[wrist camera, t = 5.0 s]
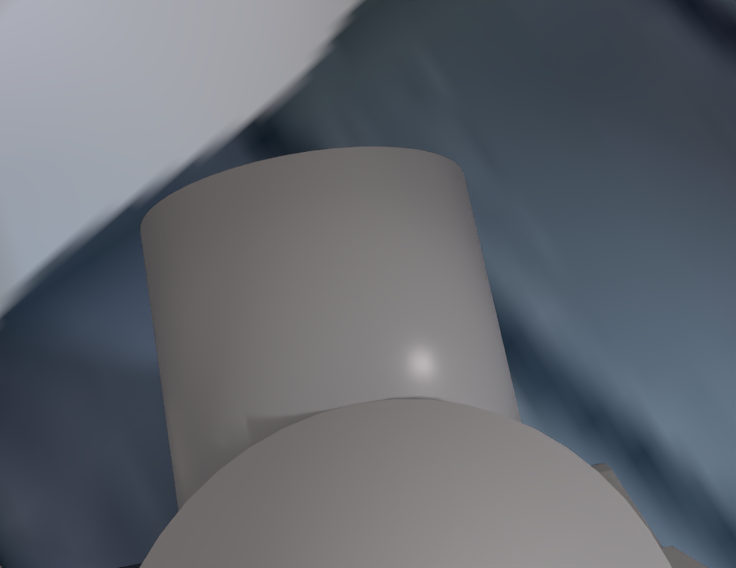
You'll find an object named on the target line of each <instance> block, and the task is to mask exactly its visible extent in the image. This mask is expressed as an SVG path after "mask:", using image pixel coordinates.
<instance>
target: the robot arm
mask: <svg viewBox="0 0 736 568" xmlns="http://www.w3.org/2000/svg"><path fill="white" fill-rule="evenodd" d="M591 467H593V468H594V469H595V470H596V471H598V472H599V473H600V474H601V475H602V476H603V477H604V478H605V479H606V480H607V481H608V482H609V483H610V484H611V485H612V486H613V487H614V488H615V489H616V490H617V491H618V492H619V493H620V494H621V495H622V496H623V497H624V498H625V499H626V501H627V502H628V503H629V505H630V506H631V507H632V508H633V510H634V511H635V512H636V513H637V515H638V516H639V517H640V519H641V520H642V521H643V522H644V524H645V525H646V526H647V528H648V529H649V530H650V532H651V533H652V535H653V537H654V538H655V540H656V542H657V543H658V545H659V547H660V548H661V550H662V552H663V553H664V555H665V557H666V558H667V560H668V562H669V563H670V565H671V567H672V568H708V567H706V566H704V565H703V564H701V563H699V562H698V561H696V560H695V559H693V558H691V557H690V556H688V555H686V554H685V553H683V552H681V551H680V550H678V549H676V548H675V547H673V546H669V547H664V548H663V547H662V545H661V544H660V542H659V540H658V539H657V537H656V536H655V534H654V533H653V531H652V530H651V528H650V527H649V525H648V524H647V522H646V521H645V519H644V518H643V516H642V515H641V513H640V512H639V510H638V509H637V507H636V506H635V504H634V503H633V501H632V499H631V498H630V496H629V495H628V493H627V492H626V490H625V489H624V487H623V486H622V484H621V483H620V481H619V480H618V478H617V477H616V475H615V474H614V472H613V471H612V469H611V468H610V467H609V466H608V465H606V464H605V463H600V464H595V465H591ZM141 564H142V563H140V564H135V565H130V566H125V567H120V568H140V566H141Z"/></svg>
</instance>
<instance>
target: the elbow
mask: <svg viewBox="0 0 736 568" xmlns="http://www.w3.org/2000/svg"><path fill="white" fill-rule="evenodd" d="M140 231H141V240H142V247H143V254H144V262H145V269H146V276H147V284H148V291H149V298H150V306H151V313H152V321H153V328H154V335H155V343H156V350H157V357H158V365H159V372H160V380H161V387H162V394H163V402H164V409H165V416H166V424H167V431H168V439H169V446H170V453H171V461H172V468H173V475H174V483H175V490H176V498H177V505H178V513H177V514H176V515H175V517H174V518H173V519H172V520H171V522H170V523H169V524H168V525H167V527H166V528H165V529H164V530H163V532H162V533H161V534H160V535H159V537H158V539H157V540H156V542H155V543H154V545H153V547H152V548H151V550H150V552H149V553H148V555H147V556H146V558H145V560H144V561H143V563H142V564H141V566H140V568H672V567H671V565H670V563H669V562H668V560H667V558H666V557H665V555H664V553H663V552H662V550H661V548H660V547H659V545H658V543H657V542H656V540H655V538H654V537H653V535H652V533H651V532H650V530H649V529H648V528H647V526H646V525H645V524H644V522H643V521H642V520H641V519H640V517H639V516H638V515H637V513H636V512H635V511H634V510H633V508H632V507H631V506H630V505H629V503H628V502H627V501H626V499H625V498H624V497H623V496H622V495H621V494H620V493H619V492H618V491H617V490H616V489H615V488H614V487H613V486H612V485H611V484H610V483H609V482H608V481H607V480H606V479H605V478H604V477H603V476H602V475H601V474H600V473H599V472H598V471H596V470H595V469H594V468H593V467H591V466H590V465H589V464H587V463H586V462H585V461H584V460H582V459H581V458H580V457H579V456H577V455H576V454H575V453H573V452H572V451H571V450H570V449H568V448H567V447H565V446H563V445H562V444H560V443H558V442H557V441H555V440H553V439H552V438H550V437H548V436H546V435H545V434H543V433H541V432H540V431H538V430H536V429H534V428H532V427H530V426H527V425H525V424H523V423H521V419H520V415H519V410H518V406H517V402H516V397H515V393H514V389H513V384H512V380H511V376H510V371H509V367H508V363H507V358H506V354H505V350H504V346H503V341H502V337H501V333H500V328H499V324H498V320H497V315H496V311H495V307H494V302H493V298H492V294H491V289H490V285H489V281H488V276H487V272H486V268H485V263H484V259H483V255H482V250H481V246H480V242H479V237H478V233H477V229H476V224H475V220H474V216H473V212H472V207H471V203H470V199H469V194H468V190H467V186H466V181H465V177H464V174H463V170H462V169H461V168H460V167H459V166H458V164H456V163H455V162H453V161H452V160H450V159H448V158H446V157H444V156H441V155H439V154H435V153H431V152H427V151H423V150H417V149H410V148H400V147H347V148H333V149H325V150H316V151H308V152H302V153H296V154H291V155H285V156H280V157H275V158H271V159H266V160H262V161H257V162H253V163H250V164H246V165H243V166H239V167H235V168H232V169H229V170H226V171H223V172H220V173H217V174H214V175H211V176H208V177H206V178H204V179H201V180H199V181H196V182H194V183H192V184H189V185H187V186H185V187H183V188H181V189H180V190H178V191H176V192H174V193H172V194H170V195H169V196H167V197H166V198H164V199H163V200H161V201H160V202H158V203H157V204H156V205H155V206H154V207H153V208H152V209H150V210H149V211H148V213H147V214H146V215H145V217H144V218H143V220H142V223H141V226H140Z"/></svg>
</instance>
